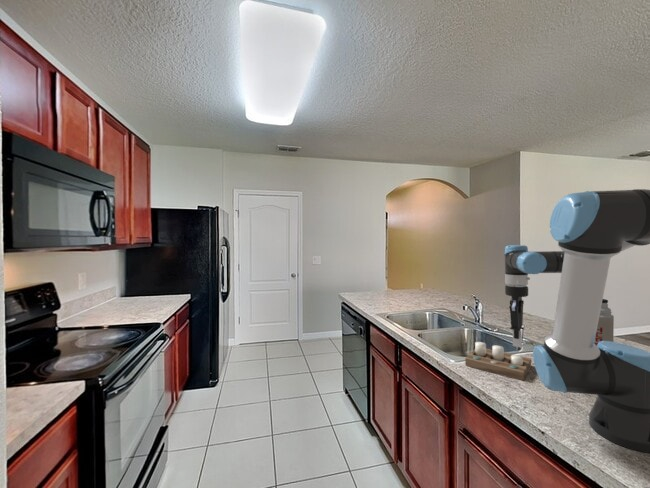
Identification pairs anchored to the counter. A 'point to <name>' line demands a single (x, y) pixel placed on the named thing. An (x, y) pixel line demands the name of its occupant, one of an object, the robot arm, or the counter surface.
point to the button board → (499, 365)
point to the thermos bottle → (605, 324)
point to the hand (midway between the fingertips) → (517, 346)
